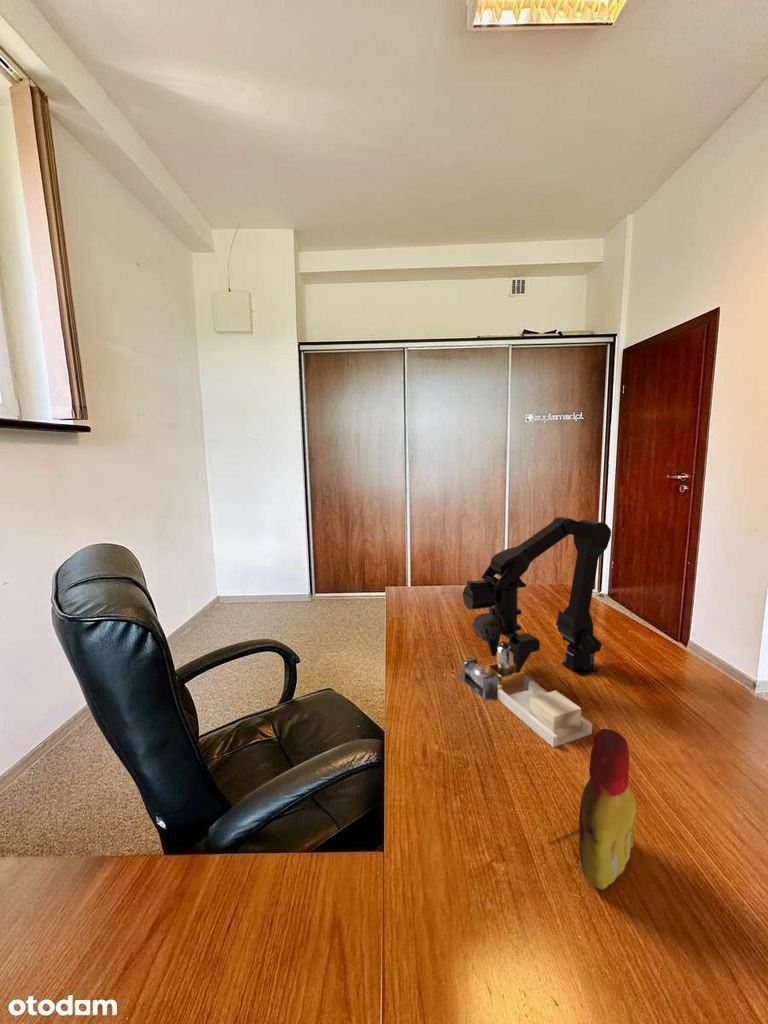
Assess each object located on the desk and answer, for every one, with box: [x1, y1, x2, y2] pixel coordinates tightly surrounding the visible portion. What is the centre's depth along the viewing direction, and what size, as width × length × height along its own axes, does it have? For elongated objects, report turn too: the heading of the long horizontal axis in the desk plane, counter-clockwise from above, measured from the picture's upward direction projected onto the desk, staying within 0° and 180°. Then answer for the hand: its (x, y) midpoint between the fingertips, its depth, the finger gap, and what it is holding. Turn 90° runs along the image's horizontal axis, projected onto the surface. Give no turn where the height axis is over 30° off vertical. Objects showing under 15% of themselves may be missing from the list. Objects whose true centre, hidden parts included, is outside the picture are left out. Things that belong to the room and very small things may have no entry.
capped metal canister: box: [496, 640, 513, 677], centre depth 103 cm, size 4×4×10 cm
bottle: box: [578, 728, 637, 890], centre depth 56 cm, size 12×6×20 cm, turn 134°
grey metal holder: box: [457, 657, 541, 701], centre depth 103 cm, size 16×12×5 cm
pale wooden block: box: [529, 689, 582, 739], centre depth 86 cm, size 7×8×5 cm
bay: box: [497, 681, 593, 748], centre depth 89 cm, size 10×18×2 cm, turn 21°
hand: (504, 663), depth 103 cm, fingers open, 9 cm apart
